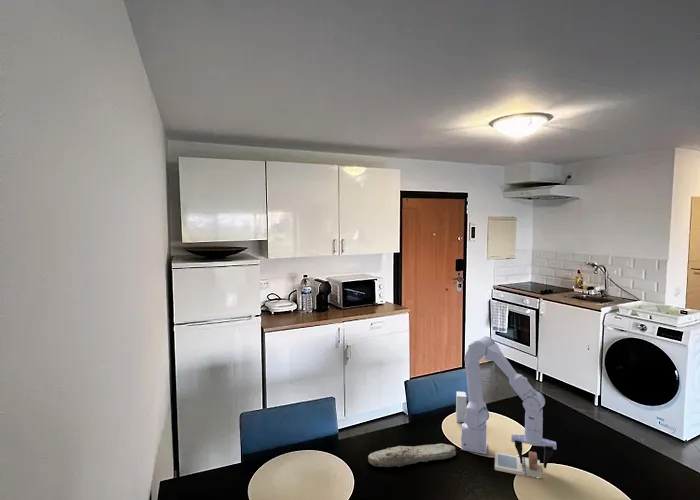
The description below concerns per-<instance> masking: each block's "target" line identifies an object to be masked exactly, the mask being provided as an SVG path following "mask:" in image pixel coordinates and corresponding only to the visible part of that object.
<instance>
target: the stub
mask: <svg viewBox="0 0 700 500" xmlns="http://www.w3.org/2000/svg"><path fill="white" fill-rule="evenodd" d="M524 466H525V477H529V476H533V477H532V478H534V477H539V478H543V475H542V469H541V461H540V459H538V454H537V452H536V451H531V450H528V457H524ZM539 478H538V479H539Z"/></svg>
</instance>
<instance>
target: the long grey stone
mask: <svg viewBox="0 0 700 500" xmlns="http://www.w3.org/2000/svg"><path fill="white" fill-rule="evenodd" d="M456 455H457V451H456V447H455V446H454V445H451V444H446V443H436V444H434V443H433V444H422V445H416V446H415V445H414V446H411V445H410V446H409V445H408V446H407V445H405V446H404V445H398V446H393V447H387V448H385V449H381V450H376V451H374V452H371V453H370V454H369V455H368V457H367V459H368V460H367V461H368V463H369V464H370V465H372V466H374V467H379V468H381V467H382V468H383V467H384V468H392V467H398V468H400V467H404V466H406V465H414V464H417V463H419V462H422V463H424V462H425V463H427V462H430V461H431V462H432V461H440V460H441V461H442V460H446V459H450V458H453V457H455V456H456Z"/></svg>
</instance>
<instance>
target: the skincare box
mask: <svg viewBox="0 0 700 500" xmlns="http://www.w3.org/2000/svg"><path fill="white" fill-rule="evenodd" d="M455 396H456V398H455V399H456V400H455V401H456V403H455V407H456V408H455V418H456V422H457V423H460V422H465V419H464V417H465V414H466V407H467V404H468V402H467V398H468V395H467V393H466V391H457V390H456V395H455Z"/></svg>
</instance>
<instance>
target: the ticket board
mask: <svg viewBox="0 0 700 500" xmlns="http://www.w3.org/2000/svg"><path fill="white" fill-rule="evenodd" d="M522 461H523V462H522V464H521V463H520V457H519V455H518V456H517V455H512V454H507V453H502V452H496V451H495V452H494V470H495V471H498V472H504V473H509V474H513V475H518V474H519V476H523V475H525V476H526V471H525V457H524V456H522Z"/></svg>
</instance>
